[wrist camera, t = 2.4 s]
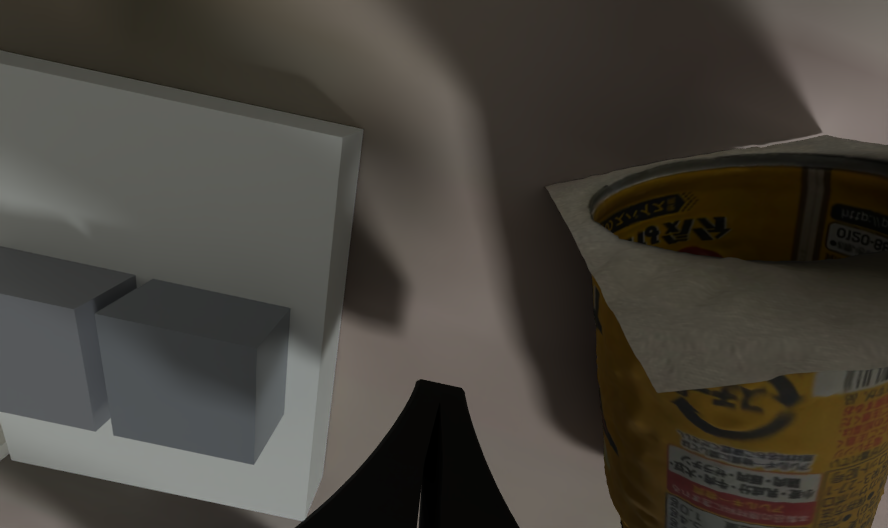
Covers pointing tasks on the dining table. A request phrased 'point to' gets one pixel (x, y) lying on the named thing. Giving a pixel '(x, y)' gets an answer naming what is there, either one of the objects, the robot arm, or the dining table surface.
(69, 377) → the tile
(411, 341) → the dining table surface
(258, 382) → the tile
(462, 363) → the dining table surface
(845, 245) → the condiment
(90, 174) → the board
